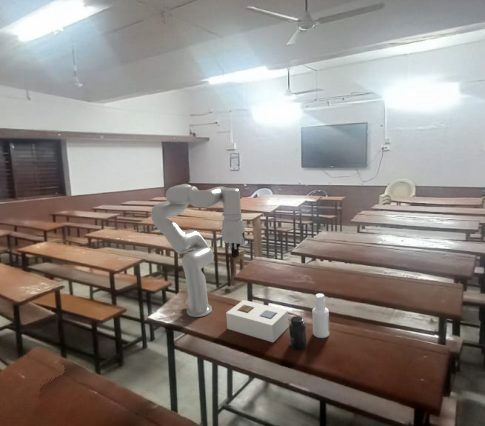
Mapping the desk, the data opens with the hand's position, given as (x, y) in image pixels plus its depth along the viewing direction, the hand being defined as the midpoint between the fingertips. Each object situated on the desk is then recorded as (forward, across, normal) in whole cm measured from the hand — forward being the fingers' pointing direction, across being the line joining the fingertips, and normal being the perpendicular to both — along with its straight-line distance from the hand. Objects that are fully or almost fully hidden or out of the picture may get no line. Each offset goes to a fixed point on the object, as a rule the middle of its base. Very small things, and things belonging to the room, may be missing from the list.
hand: (235, 256), depth 165 cm
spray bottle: (+32, +37, +8) cm, 50 cm away
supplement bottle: (+32, +32, -4) cm, 46 cm away
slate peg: (+31, +16, 0) cm, 35 cm away
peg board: (+33, +10, 0) cm, 34 cm away
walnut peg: (+31, +4, 0) cm, 31 cm away
